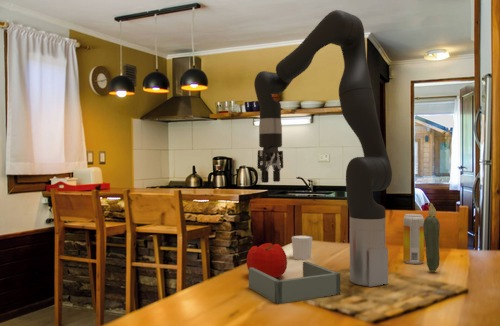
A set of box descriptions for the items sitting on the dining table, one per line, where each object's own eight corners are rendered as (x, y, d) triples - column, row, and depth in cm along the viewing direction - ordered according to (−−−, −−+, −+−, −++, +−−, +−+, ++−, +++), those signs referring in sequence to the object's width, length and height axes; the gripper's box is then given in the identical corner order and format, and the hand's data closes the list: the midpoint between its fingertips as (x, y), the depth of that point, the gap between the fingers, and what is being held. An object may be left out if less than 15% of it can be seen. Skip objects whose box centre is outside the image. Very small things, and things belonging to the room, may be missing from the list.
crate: (340, 294, 115) (340, 273, 114) (277, 304, 107) (277, 282, 107) (306, 279, 128) (306, 261, 128) (248, 287, 121) (248, 267, 121)
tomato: (261, 270, 139) (261, 239, 139) (295, 277, 131) (295, 244, 131) (237, 277, 131) (237, 245, 130) (272, 285, 123) (272, 250, 123)
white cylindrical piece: (313, 260, 152) (313, 238, 152) (292, 260, 152) (292, 238, 152) (311, 255, 159) (311, 235, 159) (290, 255, 159) (290, 235, 159)
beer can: (421, 260, 151) (421, 213, 151) (426, 264, 145) (426, 216, 145) (401, 260, 152) (401, 213, 152) (405, 264, 146) (405, 215, 146)
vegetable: (440, 274, 133) (441, 203, 133) (424, 274, 134) (424, 203, 134) (437, 271, 137) (438, 202, 137) (422, 270, 138) (422, 202, 138)
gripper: (271, 131, 148) (271, 183, 148) (289, 133, 160) (290, 181, 160) (250, 132, 151) (250, 182, 152) (270, 134, 164) (270, 181, 164)
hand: (271, 182), depth 156 cm, fingers open, 8 cm apart
